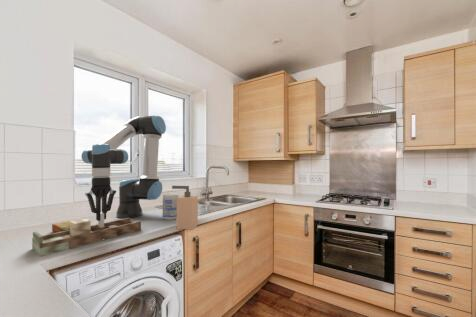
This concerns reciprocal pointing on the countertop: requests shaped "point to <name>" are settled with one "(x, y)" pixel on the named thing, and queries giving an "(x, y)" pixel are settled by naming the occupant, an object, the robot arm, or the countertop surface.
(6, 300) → the countertop surface
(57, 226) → the carton
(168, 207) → the supplement tub
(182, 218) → the soap dispenser
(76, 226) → the block
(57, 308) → the countertop surface
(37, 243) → the tray
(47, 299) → the countertop surface
